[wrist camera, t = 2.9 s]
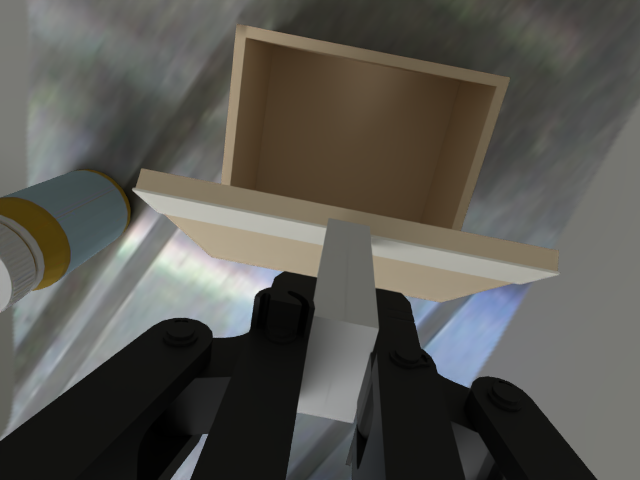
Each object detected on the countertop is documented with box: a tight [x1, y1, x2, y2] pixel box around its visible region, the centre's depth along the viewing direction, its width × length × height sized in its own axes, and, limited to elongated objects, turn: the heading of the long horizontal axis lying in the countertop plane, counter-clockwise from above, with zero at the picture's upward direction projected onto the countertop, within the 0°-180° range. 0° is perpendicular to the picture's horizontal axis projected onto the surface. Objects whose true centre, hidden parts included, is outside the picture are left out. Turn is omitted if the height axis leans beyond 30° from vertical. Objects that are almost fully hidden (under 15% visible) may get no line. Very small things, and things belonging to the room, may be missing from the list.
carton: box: [221, 24, 510, 231], centre depth 32 cm, size 14×16×10 cm
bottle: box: [0, 169, 131, 313], centre depth 34 cm, size 7×7×15 cm
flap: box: [132, 168, 560, 303], centre depth 23 cm, size 14×16×1 cm
